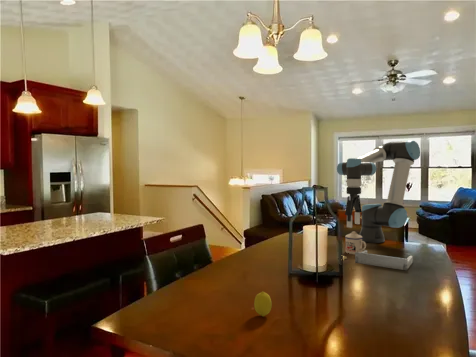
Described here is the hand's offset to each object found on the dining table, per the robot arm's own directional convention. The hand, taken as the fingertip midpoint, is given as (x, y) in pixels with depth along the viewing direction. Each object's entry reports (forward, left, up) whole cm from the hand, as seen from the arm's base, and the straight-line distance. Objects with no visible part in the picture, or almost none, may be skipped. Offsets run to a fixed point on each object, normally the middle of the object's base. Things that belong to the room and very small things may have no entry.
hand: (353, 225), depth 186 cm
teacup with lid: (0, +1, -15) cm, 15 cm away
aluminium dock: (+11, +18, -15) cm, 26 cm away
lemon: (+96, +1, -15) cm, 97 cm away
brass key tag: (+15, -1, -15) cm, 21 cm away
